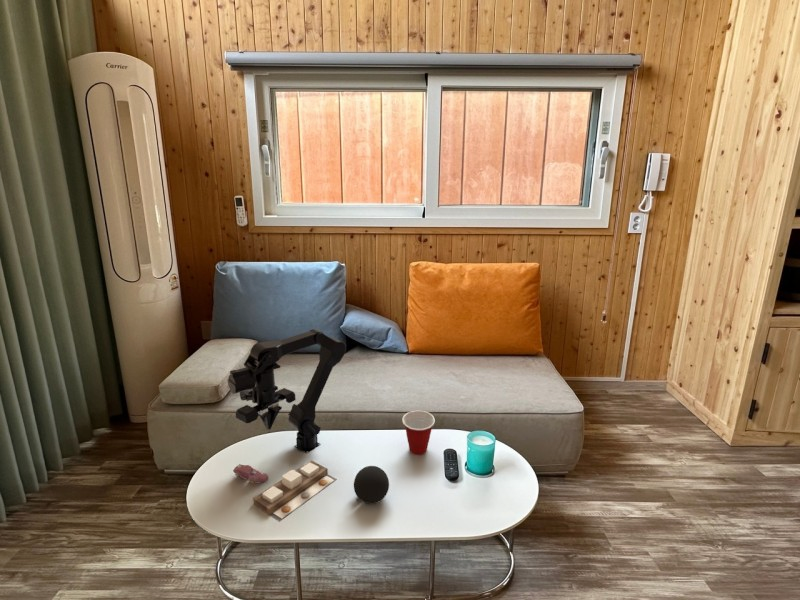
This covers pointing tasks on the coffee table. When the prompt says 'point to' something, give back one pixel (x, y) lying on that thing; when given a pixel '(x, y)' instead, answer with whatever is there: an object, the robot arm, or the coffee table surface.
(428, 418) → the plastic cup
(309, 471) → the button
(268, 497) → the button
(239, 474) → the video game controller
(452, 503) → the coffee table surface
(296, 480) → the button middle
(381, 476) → the speaker
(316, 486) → the button board
